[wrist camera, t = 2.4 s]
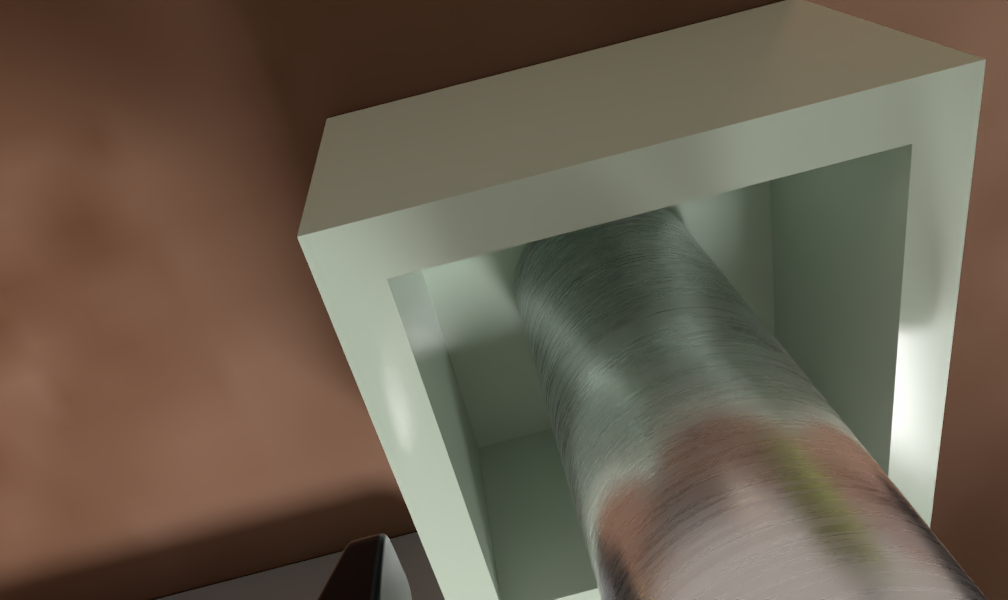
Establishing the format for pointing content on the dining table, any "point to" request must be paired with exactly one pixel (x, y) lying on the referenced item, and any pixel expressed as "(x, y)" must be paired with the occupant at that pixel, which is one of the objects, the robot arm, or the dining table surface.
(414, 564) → the tray
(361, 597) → the robot arm
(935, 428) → the pale green square box
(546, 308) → the pin
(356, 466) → the dining table surface
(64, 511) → the dining table surface
